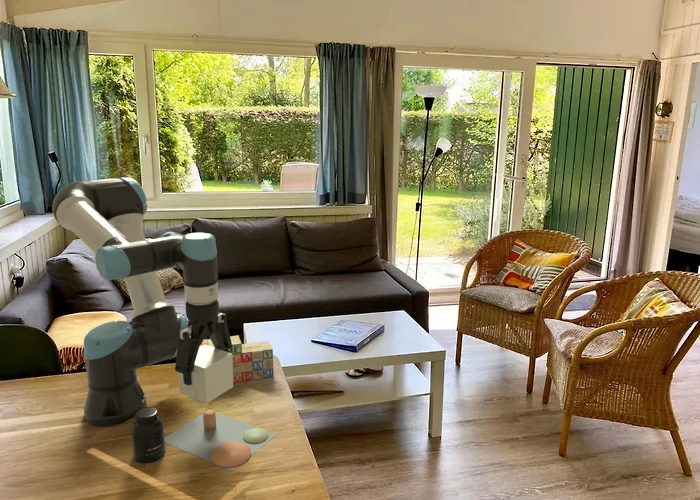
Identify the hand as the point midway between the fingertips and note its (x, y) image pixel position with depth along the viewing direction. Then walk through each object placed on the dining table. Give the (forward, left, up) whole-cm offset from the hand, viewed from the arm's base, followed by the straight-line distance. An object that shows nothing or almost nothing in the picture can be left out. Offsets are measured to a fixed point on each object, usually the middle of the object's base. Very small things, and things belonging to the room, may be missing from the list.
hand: (206, 386), depth 134 cm
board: (+6, -2, -12) cm, 14 cm away
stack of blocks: (-13, +24, -13) cm, 30 cm away
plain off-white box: (0, 0, -1) cm, 1 cm away
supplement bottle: (-3, -15, -12) cm, 20 cm away
